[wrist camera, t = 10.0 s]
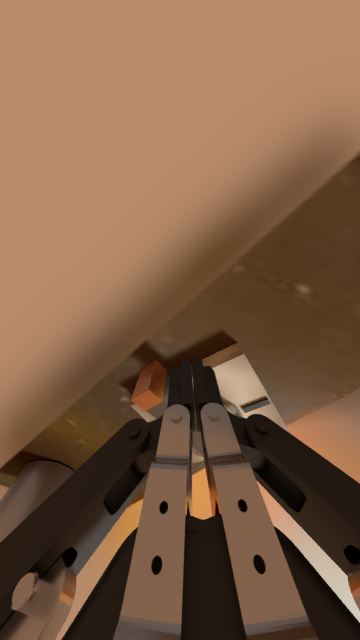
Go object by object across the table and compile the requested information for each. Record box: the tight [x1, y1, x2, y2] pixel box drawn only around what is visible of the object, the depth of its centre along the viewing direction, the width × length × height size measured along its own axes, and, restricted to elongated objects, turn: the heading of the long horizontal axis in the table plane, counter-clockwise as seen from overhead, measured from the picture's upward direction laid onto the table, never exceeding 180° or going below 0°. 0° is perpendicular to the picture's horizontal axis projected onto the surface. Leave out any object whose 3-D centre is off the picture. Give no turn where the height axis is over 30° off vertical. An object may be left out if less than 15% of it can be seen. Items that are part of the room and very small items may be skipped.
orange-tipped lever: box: [131, 360, 244, 457], centre depth 17 cm, size 15×7×4 cm, turn 39°
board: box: [131, 343, 290, 463], centre depth 21 cm, size 14×14×2 cm
